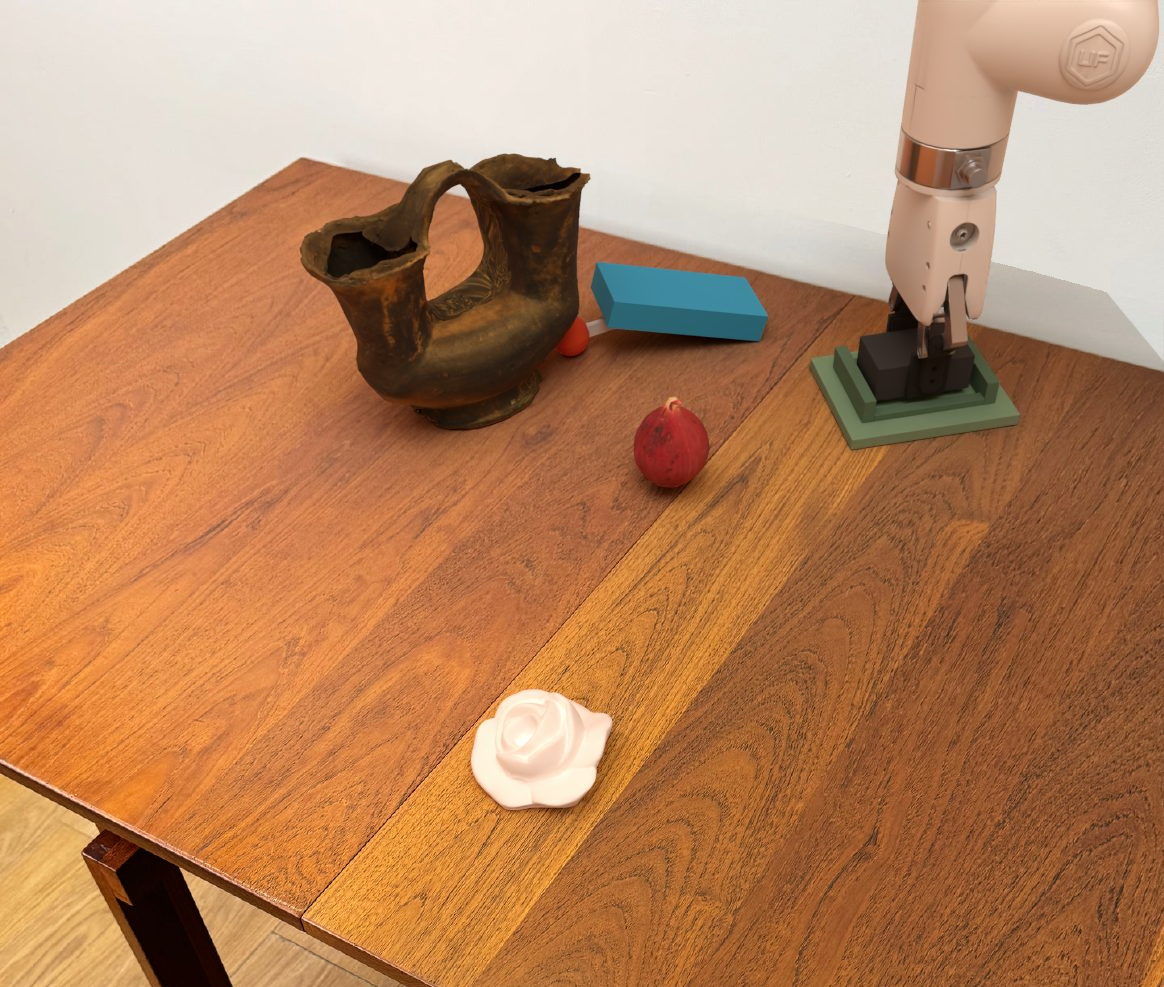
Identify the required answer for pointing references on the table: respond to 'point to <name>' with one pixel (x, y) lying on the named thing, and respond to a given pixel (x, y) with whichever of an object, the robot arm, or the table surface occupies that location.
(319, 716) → the table surface
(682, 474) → the onion
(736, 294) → the lever
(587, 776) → the rose
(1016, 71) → the robot arm
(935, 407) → the base pad
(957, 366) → the black block
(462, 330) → the pottery vessel
